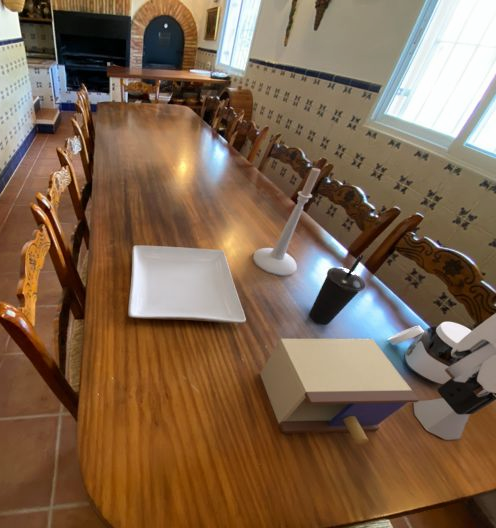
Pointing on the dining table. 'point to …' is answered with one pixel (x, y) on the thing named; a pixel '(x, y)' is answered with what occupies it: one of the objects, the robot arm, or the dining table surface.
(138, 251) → the square plate
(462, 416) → the flask
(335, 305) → the drinking cup
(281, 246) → the candlestick
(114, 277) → the dining table surface
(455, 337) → the spread jar
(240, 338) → the dining table surface
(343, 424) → the sliding door
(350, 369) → the box with blue drawer
